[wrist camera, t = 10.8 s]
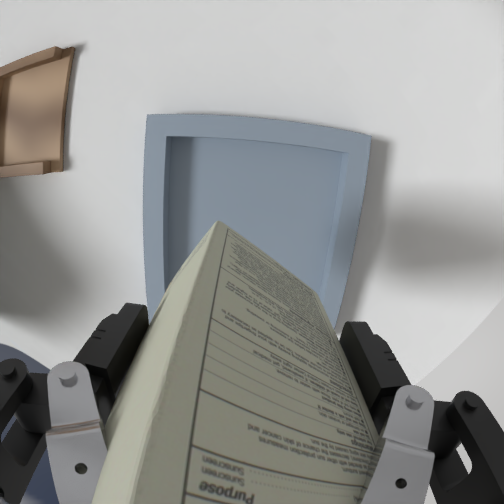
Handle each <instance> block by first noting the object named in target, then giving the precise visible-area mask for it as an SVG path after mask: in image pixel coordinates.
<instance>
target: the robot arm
mask: <svg viewBox="0 0 504 504" xmlns="http://www.w3.org/2000/svg"><path fill="white" fill-rule="evenodd" d="M148 327H149V319H148V310H147V307H146V305H140V304H133V303H125V305H124V306H123V307H122V309H121V310H120V312H119V313H118V314H111V315H110V316H108V317H106V318H105V319H103V320H102V321H101V323H100V324H99V325H98V327H97V328H96V330H95V331H94V332H93V333H92V335H91V337H90V338H89V339H88V340H87V342H86V343H85V345H84V346H83V347H82V349H81V350H80V352H79V353H78V355H77V356H76V357H75V359H74V360H73V361H68V362H63V363H60V364H58V365H56V366H55V367H53V368H52V369H51V370H50V372H49V374H43V373H42V374H40V373H29V371H28V369H27V367H26V365H25V363H24V362H23V361H21V360H19V359H7V360H4V361H2V362H0V504H20V502H21V499H22V497H23V495H24V493H25V491H26V488H27V486H28V484H29V482H30V480H31V478H32V475H33V473H34V471H35V469H36V467H37V465H38V463H39V461H40V459H41V457H42V455H43V453H44V451H45V449H46V447H47V449H48V455H49V460H50V466H51V471H52V475H53V480H54V484H55V488H56V492H57V496H58V500H59V503H60V504H91V503H92V500H93V496H94V493H95V490H96V486H97V483H98V480H99V477H100V473H101V470H102V467H103V464H104V461H105V458H106V455H107V453H108V450H107V438H106V431H105V428H104V427H105V425H106V422H107V420H108V417H109V415H110V412H111V409H112V407H113V405H114V402H115V400H116V398H117V395H118V393H119V391H120V388H121V386H122V384H123V381H124V379H125V377H126V374H127V372H128V370H129V368H130V365H131V363H132V361H133V359H134V356H135V354H136V352H137V349H138V347H139V345H140V343H141V341H142V339H143V337H144V335H145V333H146V331H147V329H148ZM339 342H340V344H341V346H342V349H343V351H344V353H345V356H346V358H347V360H348V362H349V365H350V367H351V369H352V372H353V374H354V376H355V379H356V381H357V383H358V386H359V388H360V390H361V393H362V395H363V398H364V400H365V402H366V405H367V407H368V410H369V412H370V415H371V417H372V420H373V422H374V425H375V427H376V430H377V432H378V435H379V438H378V441H377V444H376V446H375V448H374V450H373V452H372V455H371V459H370V462H369V466H368V469H367V473H366V479H365V483H364V485H363V487H362V490H361V492H360V495H359V497H358V500H357V503H356V504H424V501H425V497H426V493H427V490H428V485H429V484H430V487H431V489H432V492H433V494H434V497H435V500H436V502H437V504H504V432H503V430H502V428H501V427H500V425H499V424H498V422H497V421H496V419H495V418H494V416H493V415H492V413H491V412H490V410H489V409H488V407H487V406H486V405H485V403H484V401H483V400H482V399H481V398H480V397H479V396H478V395H476V394H474V393H472V392H470V391H461V392H459V393H457V394H456V396H455V397H454V399H453V400H452V402H443V401H434V400H433V398H432V396H431V395H430V393H429V392H428V391H426V390H425V389H423V388H421V387H419V386H415V385H411V383H410V382H409V380H408V378H407V376H406V374H405V373H404V371H403V369H402V367H401V366H400V364H399V362H398V361H396V357H395V355H394V354H393V353H392V350H391V349H390V347H389V345H388V344H387V342H386V341H384V340H383V339H382V338H381V337H380V336H379V335H377V334H375V335H374V334H373V332H372V331H371V329H370V327H369V326H368V324H367V323H366V322H349V321H348V322H346V323H345V325H344V327H343V330H342V334H341V337H340V340H339ZM13 415H14V416H15V417H16V421H15V422H14V424H13V425H12V427H11V429H10V430H9V432H8V433H7V435H6V437H5V438H4V440H3V441H2V443H1V434H2V432H3V430H4V429H5V427H6V426H7V424H8V422H9V421H10V419H11V418H12V416H13ZM461 443H462V444H463V446H464V448H465V450H466V451H467V454H468V456H469V457H470V459H471V461H472V470H471V472H470V474H468V472H467V470H466V468H465V466H464V464H463V462H462V460H461V458H460V456H459V454H458V452H457V450H456V448H457V447H458V446H459V445H460V444H461Z"/></svg>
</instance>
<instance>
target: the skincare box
mask: <svg viewBox="0 0 504 504" xmlns="http://www.w3.org/2000/svg"><path fill="white" fill-rule="evenodd" d="M104 428H105V431H106V438H107V450H108V453H107V455H106V458H105V461H104V464H103V467H102V470H101V473H100V477H99V480H98V483H97V486H96V490H95V493H94V496H93V500H92V503H91V504H356V503H357V500H358V497H359V495H360V492H361V490H362V487H363V485H364V483H365V479H366V473H367V469H368V466H369V462H370V459H371V455H372V452H373V450H374V448H375V446H376V444H377V441H378V438H379V435H378V432H377V430H376V427H375V425H374V422H373V420H372V417H371V415H370V412H369V410H368V407H367V405H366V402H365V400H364V398H363V395H362V393H361V390H360V388H359V386H358V383H357V381H356V379H355V376H354V374H353V372H352V369H351V367H350V365H349V362H348V360H347V358H346V356H345V353H344V351H343V349H342V346H341V344H340V342H339V340H338V338H337V336H336V333H335V331H334V329H333V327H332V324H331V322H330V320H329V318H328V316H327V313H326V311H325V309H324V307H323V305H322V303H321V300H320V298H319V296H318V294H317V293H316V292H315V291H314V290H313V289H311V288H310V287H309V286H308V285H306V284H305V283H304V282H303V281H301V280H300V279H299V278H298V277H296V276H295V275H294V274H292V273H291V272H290V271H288V270H287V269H286V268H284V267H283V266H282V265H281V264H279V263H278V262H277V261H275V260H274V259H273V258H271V257H270V256H269V255H267V254H266V253H265V252H263V251H262V250H261V249H259V248H258V247H257V246H255V245H254V244H252V243H251V242H250V241H248V240H247V239H246V238H244V237H243V236H241V235H240V234H239V233H237V232H236V231H234V230H233V229H231V228H230V227H228V226H227V225H226V224H224V223H223V222H221V221H216V222H215V223H214V224H213V226H212V227H211V228H210V229H209V231H208V232H207V233H206V234H205V236H204V237H203V238H202V239H201V241H200V242H199V243H198V245H197V246H196V247H195V249H194V250H193V251H192V253H191V254H190V255H189V257H188V258H187V259H186V261H185V262H184V264H183V265H182V266H181V268H180V269H179V271H178V272H177V274H176V275H175V277H174V278H173V280H172V281H171V283H170V284H169V286H168V288H167V290H166V292H165V294H164V296H163V298H162V300H161V302H160V304H159V306H158V308H157V310H156V312H155V314H154V316H153V318H152V320H151V322H150V324H149V327H148V329H147V331H146V333H145V335H144V337H143V339H142V341H141V343H140V345H139V347H138V349H137V352H136V354H135V356H134V359H133V361H132V363H131V365H130V368H129V370H128V372H127V374H126V377H125V379H124V381H123V384H122V386H121V388H120V391H119V393H118V395H117V398H116V400H115V402H114V405H113V407H112V409H111V412H110V415H109V417H108V420H107V422H106V425H105V427H104Z"/></svg>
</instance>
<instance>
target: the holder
mask: <svg viewBox="0 0 504 504" xmlns="http://www.w3.org/2000/svg"><path fill="white" fill-rule="evenodd" d="M74 51H75V48H74V47H69V48H66V49H61V48H59V47H56V46H55V47H52V48H49V49H46V50H43V51H40V52H37V53H34V54H32V55H29V56H26V57H24V58H21V59H19V60H16V61H14V62H12V63H9V64H7V65H5V66H3V67H0V178H2V177H13V176H25V175H39V174H46V173H51V172H62V171H63V143H64V125H65V112H66V102H67V94H68V86H69V79H70V73H71V67H72V61H73V56H74Z"/></svg>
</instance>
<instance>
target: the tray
mask: <svg viewBox="0 0 504 504" xmlns="http://www.w3.org/2000/svg"><path fill="white" fill-rule="evenodd" d="M370 145H371V136H370V135H366V134H361V133H356V132H351V131H346V130H341V129H336V128H330V127H324V126H318V125H312V124H305V123H298V122H291V121H283V120H274V119H265V118H254V117H242V116H227V115H204V114H151V115H147V121H146V134H145V150H144V174H143V240H144V264H145V280H146V294H147V306H148V316H149V324H150V322H151V320H152V318H153V316H154V314H155V312H156V310H157V308H158V306H159V304H160V302H161V300H162V298H163V296H164V294H165V292H166V290H167V288H168V286H169V284H170V283H171V281H172V280H173V278H174V277H175V275H176V274H177V272H178V271H179V269H180V268H181V266H182V265H183V264H184V262H185V261H186V259H187V258H188V257H189V255H190V254H191V253H192V251H193V250H194V249H195V247H196V246H197V245H198V243H199V242H200V241H201V239H202V238H203V237H204V236H205V234H206V233H207V232H208V231H209V229H210V228H211V227H212V226H213V224H214V223H215V222H216V221H221V222H223V223H224V224H226V225H227V226H228V227H230V228H231V229H233V230H234V231H236V232H237V233H239V234H240V235H241V236H243V237H244V238H246V239H247V240H248V241H250V242H251V243H252V244H254V245H255V246H257V247H258V248H259V249H261V250H262V251H263V252H265V253H266V254H267V255H269V256H270V257H271V258H273V259H274V260H275V261H277V262H278V263H279V264H281V265H282V266H283V267H284V268H286V269H287V270H288V271H290V272H291V273H292V274H294V275H295V276H296V277H298V278H299V279H300V280H301V281H303V282H304V283H305V284H306V285H308V286H309V287H310V288H311V289H313V290H314V291H315V292H316V293H317V294H318V296H319V298H320V300H321V303H322V305H323V307H324V309H325V311H326V313H327V316H328V318H329V320H330V322H331V324H332V327H333V329H335V325H336V322H337V318H338V314H339V310H340V307H341V303H342V299H343V295H344V291H345V287H346V282H347V278H348V274H349V269H350V265H351V260H352V256H353V251H354V246H355V241H356V236H357V231H358V226H359V220H360V215H361V209H362V203H363V197H364V190H365V184H366V177H367V170H368V162H369V154H370Z"/></svg>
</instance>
